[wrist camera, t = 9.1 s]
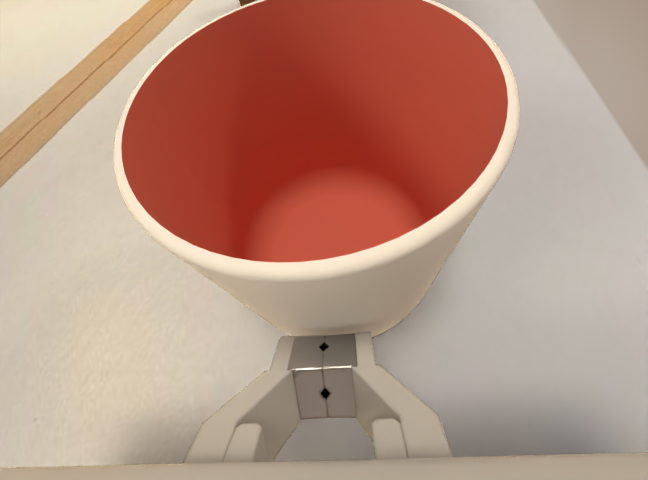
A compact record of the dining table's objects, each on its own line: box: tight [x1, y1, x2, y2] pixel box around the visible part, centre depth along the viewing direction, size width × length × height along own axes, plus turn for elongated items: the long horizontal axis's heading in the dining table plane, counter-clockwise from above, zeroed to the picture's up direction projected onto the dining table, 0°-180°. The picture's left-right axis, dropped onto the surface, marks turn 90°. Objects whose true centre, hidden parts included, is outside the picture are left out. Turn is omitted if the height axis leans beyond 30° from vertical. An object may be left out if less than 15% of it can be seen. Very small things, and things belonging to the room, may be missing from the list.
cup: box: [113, 0, 520, 342], centre depth 12 cm, size 10×10×10 cm
